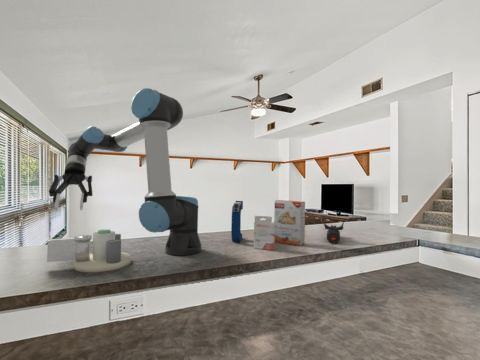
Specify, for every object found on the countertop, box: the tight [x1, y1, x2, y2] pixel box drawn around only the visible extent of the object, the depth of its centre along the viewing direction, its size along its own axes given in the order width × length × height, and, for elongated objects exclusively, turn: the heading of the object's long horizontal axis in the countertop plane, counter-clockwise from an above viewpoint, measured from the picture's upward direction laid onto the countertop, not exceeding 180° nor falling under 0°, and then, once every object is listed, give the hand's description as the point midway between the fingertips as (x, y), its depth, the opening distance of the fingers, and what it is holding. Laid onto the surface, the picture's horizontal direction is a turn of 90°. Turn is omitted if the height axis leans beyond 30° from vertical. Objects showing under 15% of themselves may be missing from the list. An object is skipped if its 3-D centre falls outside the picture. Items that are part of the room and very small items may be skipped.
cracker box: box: [273, 199, 306, 247], centre depth 134 cm, size 14×6×21 cm, turn 55°
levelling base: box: [73, 229, 132, 273], centre depth 96 cm, size 18×18×12 cm
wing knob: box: [46, 234, 93, 263], centre depth 92 cm, size 13×5×8 cm, turn 114°
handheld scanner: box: [230, 200, 244, 243], centre depth 139 cm, size 5×16×20 cm, turn 174°
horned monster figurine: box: [323, 220, 344, 245], centre depth 144 cm, size 10×22×10 cm, turn 161°
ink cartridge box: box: [253, 215, 275, 251], centre depth 123 cm, size 9×5×15 cm, turn 68°
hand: (68, 208), depth 105 cm, fingers open, 8 cm apart
